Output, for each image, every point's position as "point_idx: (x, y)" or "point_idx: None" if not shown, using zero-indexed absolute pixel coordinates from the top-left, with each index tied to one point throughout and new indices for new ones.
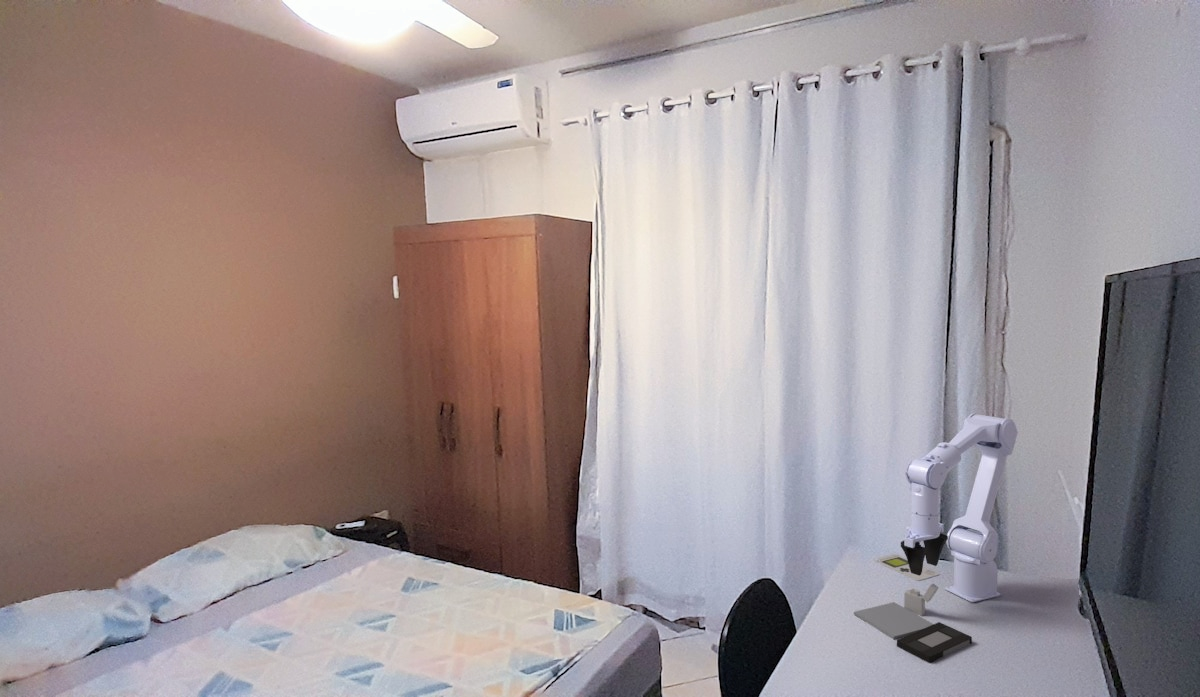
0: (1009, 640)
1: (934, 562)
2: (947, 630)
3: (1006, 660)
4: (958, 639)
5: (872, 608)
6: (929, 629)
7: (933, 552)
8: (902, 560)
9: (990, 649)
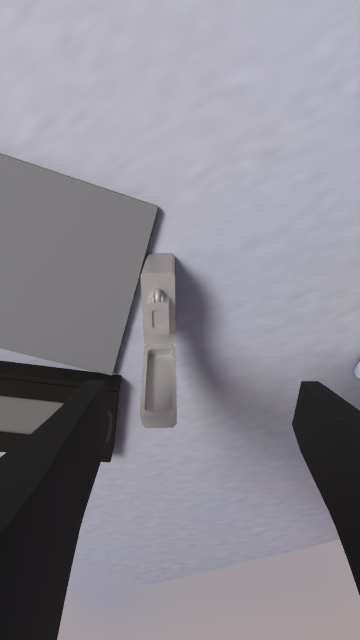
0: (195, 484)
1: (300, 433)
2: None
3: (103, 504)
4: None
5: (31, 174)
6: (50, 389)
7: (339, 483)
8: None
9: (121, 476)
